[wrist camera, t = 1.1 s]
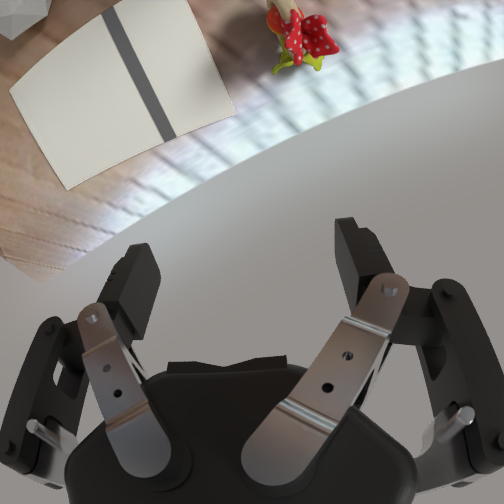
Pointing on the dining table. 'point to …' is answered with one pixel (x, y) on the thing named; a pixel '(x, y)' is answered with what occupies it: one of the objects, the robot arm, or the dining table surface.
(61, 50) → the mat
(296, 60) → the bird rattle
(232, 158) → the dining table surface
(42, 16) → the die
